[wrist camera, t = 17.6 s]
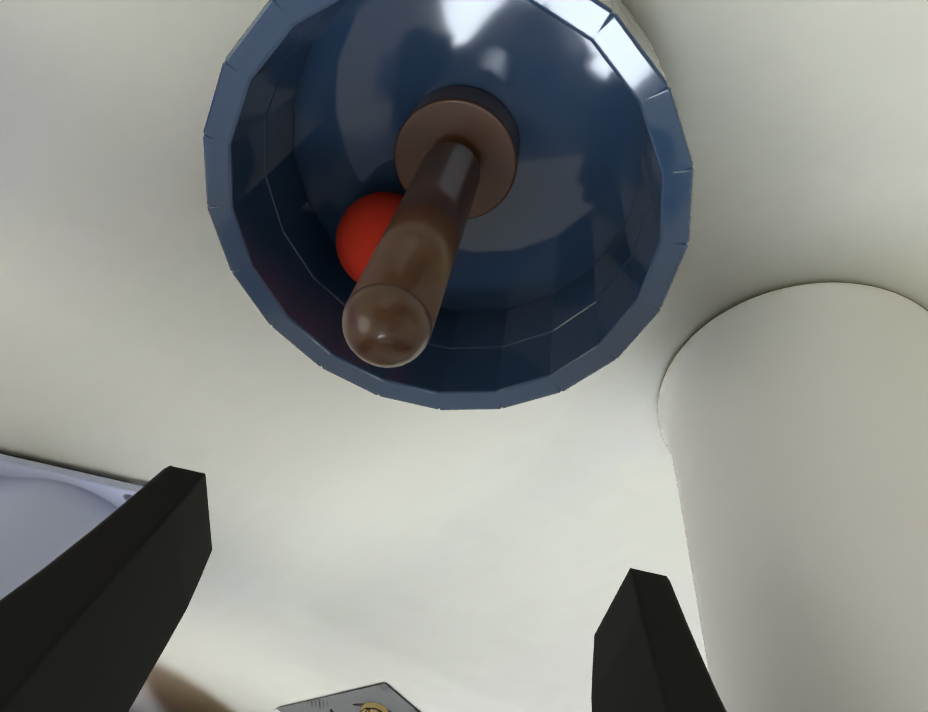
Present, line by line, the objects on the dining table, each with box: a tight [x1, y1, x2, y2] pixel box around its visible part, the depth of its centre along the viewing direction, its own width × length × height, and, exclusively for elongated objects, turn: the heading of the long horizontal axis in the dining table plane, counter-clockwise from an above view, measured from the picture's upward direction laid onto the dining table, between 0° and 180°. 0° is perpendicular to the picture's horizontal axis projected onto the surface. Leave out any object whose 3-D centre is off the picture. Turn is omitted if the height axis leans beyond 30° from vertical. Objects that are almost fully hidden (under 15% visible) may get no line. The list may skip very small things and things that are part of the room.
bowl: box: [203, 0, 694, 410], centre depth 16 cm, size 10×10×4 cm
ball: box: [336, 192, 404, 282], centre depth 17 cm, size 3×3×3 cm
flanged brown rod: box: [342, 86, 520, 368], centre depth 13 cm, size 3×3×9 cm
